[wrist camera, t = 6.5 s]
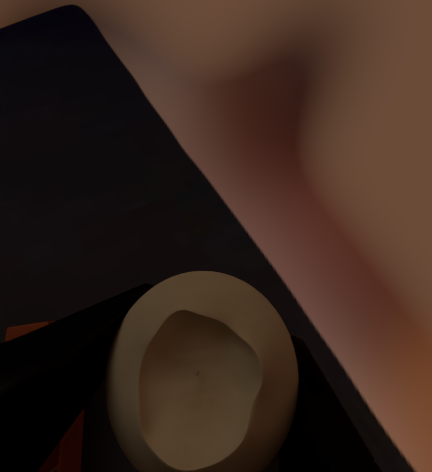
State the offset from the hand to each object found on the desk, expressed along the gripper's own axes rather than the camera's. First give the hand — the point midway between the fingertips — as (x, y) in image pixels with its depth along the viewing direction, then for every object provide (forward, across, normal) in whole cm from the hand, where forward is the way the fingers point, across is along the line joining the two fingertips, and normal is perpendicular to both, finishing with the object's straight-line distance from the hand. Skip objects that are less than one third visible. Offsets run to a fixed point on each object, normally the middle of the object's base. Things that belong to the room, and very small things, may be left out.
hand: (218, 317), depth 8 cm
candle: (+4, 0, +6) cm, 7 cm away
